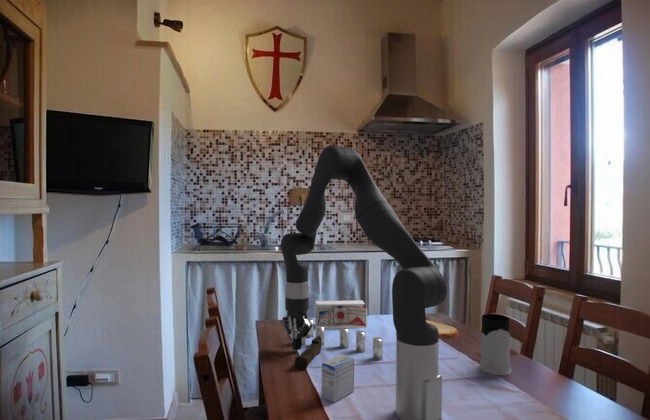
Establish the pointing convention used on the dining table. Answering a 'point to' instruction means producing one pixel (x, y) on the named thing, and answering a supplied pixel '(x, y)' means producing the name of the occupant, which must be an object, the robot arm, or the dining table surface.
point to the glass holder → (495, 344)
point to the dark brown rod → (308, 354)
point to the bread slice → (445, 330)
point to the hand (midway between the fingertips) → (296, 349)
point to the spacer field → (345, 340)
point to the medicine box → (337, 378)
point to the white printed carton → (340, 314)
